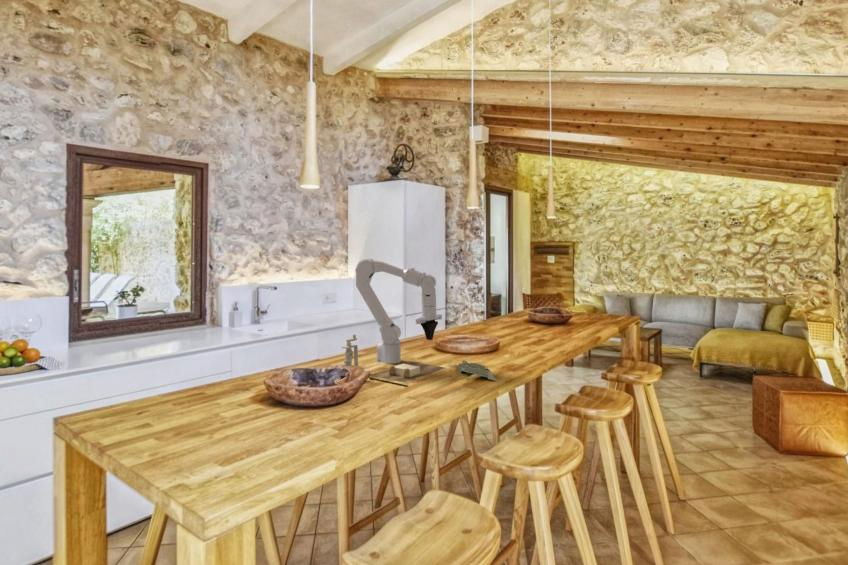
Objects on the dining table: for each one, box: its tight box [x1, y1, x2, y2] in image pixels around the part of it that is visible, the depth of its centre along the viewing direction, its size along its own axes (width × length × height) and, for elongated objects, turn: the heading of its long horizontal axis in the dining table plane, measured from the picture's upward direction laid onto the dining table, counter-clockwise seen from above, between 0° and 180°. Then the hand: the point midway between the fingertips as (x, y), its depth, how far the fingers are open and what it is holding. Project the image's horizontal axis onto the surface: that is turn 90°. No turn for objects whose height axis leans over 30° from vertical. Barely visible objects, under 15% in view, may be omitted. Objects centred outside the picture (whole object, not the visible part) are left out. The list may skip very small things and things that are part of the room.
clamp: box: [341, 334, 359, 367], centre depth 179 cm, size 4×10×15 cm, turn 160°
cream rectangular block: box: [394, 363, 420, 377], centre depth 177 cm, size 8×6×2 cm
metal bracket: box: [457, 360, 498, 382], centre depth 178 cm, size 14×6×15 cm
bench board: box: [368, 361, 446, 388], centre depth 180 cm, size 17×24×4 cm
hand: (429, 339), depth 193 cm, fingers closed
